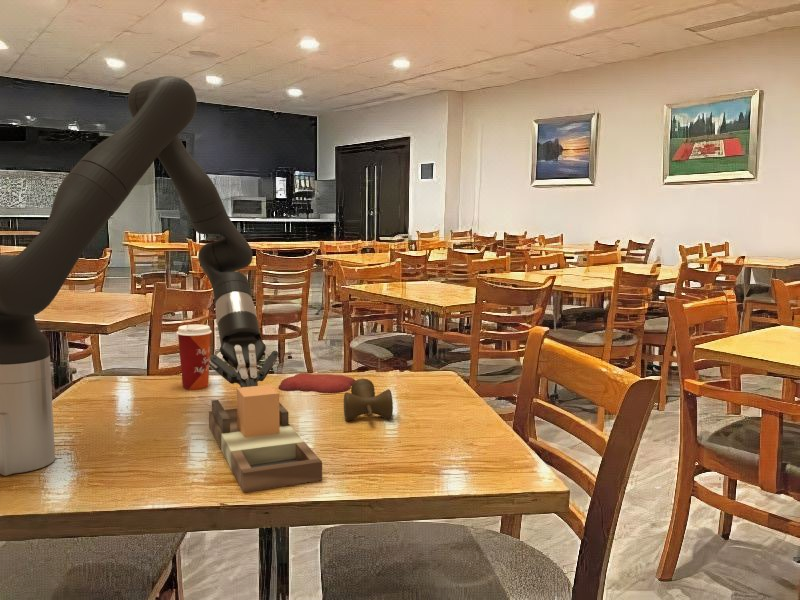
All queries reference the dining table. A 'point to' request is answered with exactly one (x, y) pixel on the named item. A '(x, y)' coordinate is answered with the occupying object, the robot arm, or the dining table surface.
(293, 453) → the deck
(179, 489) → the dining table surface
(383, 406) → the kendama
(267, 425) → the block
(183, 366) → the paper cup
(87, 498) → the dining table surface
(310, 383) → the patty
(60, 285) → the robot arm
